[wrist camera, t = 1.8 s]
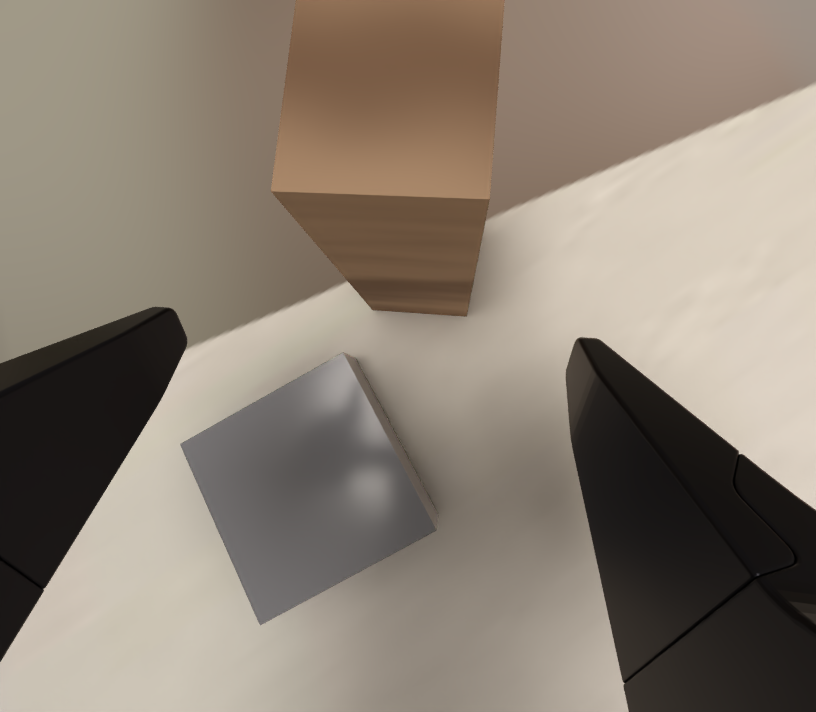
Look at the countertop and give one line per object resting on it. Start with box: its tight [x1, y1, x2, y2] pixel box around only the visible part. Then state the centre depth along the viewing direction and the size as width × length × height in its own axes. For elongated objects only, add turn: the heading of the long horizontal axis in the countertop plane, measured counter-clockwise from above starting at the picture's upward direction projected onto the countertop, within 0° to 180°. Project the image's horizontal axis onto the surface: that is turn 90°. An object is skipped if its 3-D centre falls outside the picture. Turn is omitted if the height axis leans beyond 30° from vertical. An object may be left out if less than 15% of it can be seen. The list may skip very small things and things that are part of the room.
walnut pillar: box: [271, 0, 505, 316], centre depth 16 cm, size 5×5×12 cm
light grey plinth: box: [180, 353, 438, 625], centre depth 20 cm, size 9×9×2 cm
